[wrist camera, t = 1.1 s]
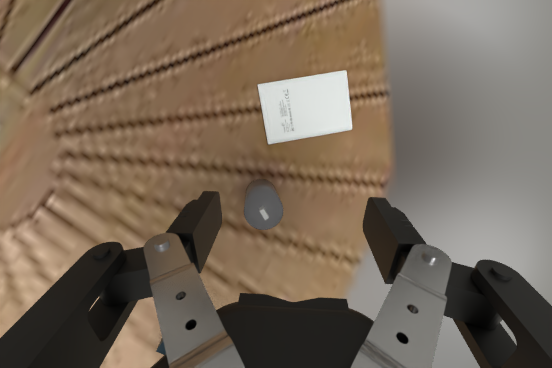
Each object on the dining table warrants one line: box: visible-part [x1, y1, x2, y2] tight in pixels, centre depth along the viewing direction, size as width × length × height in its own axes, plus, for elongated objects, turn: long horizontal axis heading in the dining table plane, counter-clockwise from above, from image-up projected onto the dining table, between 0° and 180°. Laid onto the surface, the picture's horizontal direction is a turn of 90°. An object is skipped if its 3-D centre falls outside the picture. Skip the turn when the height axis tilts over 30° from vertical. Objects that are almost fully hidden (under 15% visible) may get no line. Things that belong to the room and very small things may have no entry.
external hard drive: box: [257, 70, 352, 144], centre depth 33 cm, size 2×8×12 cm
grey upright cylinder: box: [244, 179, 283, 230], centre depth 30 cm, size 4×4×10 cm
